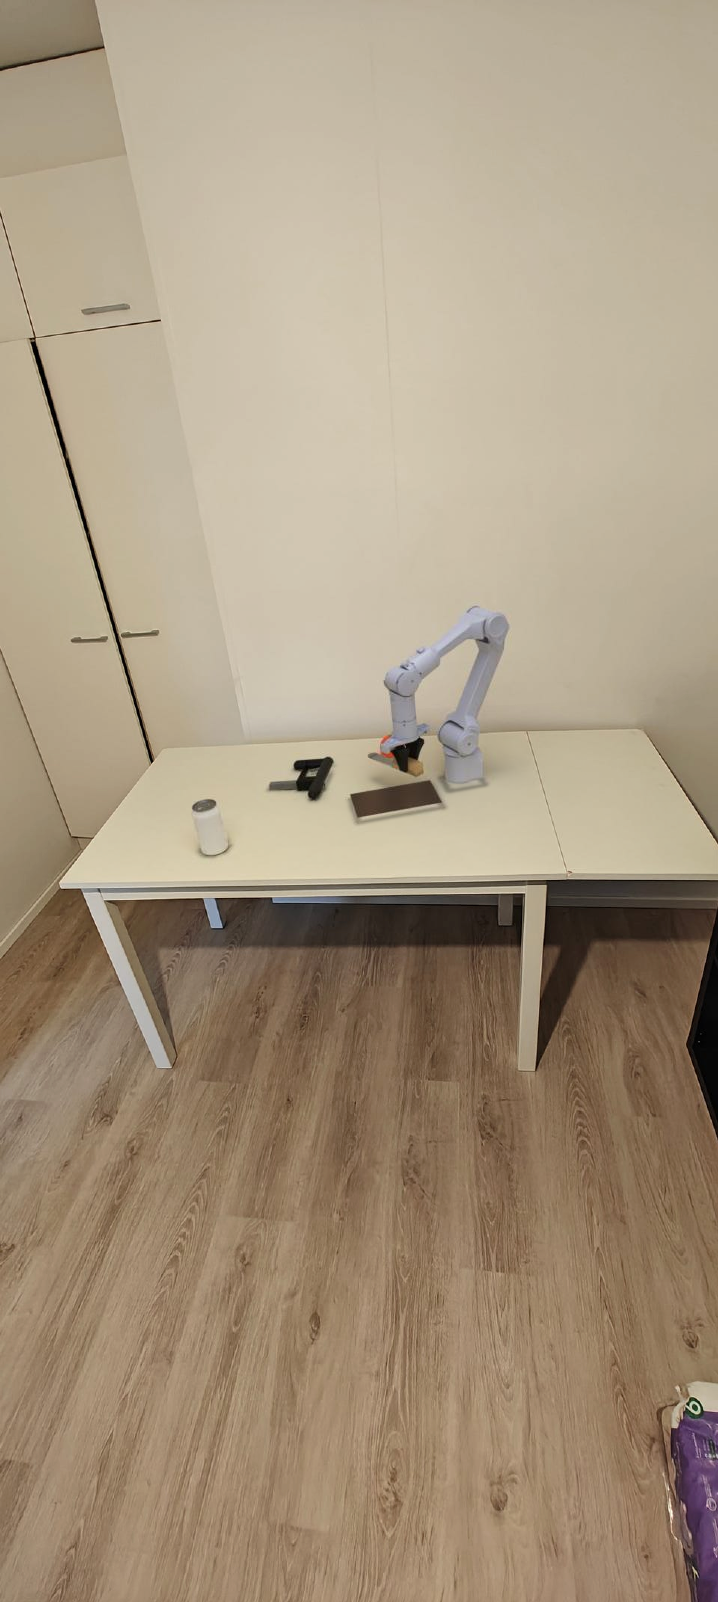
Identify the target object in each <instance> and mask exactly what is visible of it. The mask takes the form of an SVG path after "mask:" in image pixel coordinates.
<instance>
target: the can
mask: <svg viewBox="0 0 718 1602" xmlns="http://www.w3.org/2000/svg"><path fill="white" fill-rule="evenodd" d="M191 809H192V810H191V817H192V821H193V826H194V829H195V833H196V836H197V839H198V844H199V847H200V851H201V853H202V854H204V855H206V856H211V857H212V856H217V855H220V854H222V853H224V852H226V850H228V847H229V841H228V837H227V833H226V828H225V824H224V820H223V817H222V811H221V808H220V806H219V805H218V804H217V801H216V800H215V799H212V798H205V799H201V800H197V801H196V802H195V803H194V804H192V806H191Z"/></svg>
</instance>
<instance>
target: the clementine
mask: <svg viewBox="0 0 718 1602" xmlns="http://www.w3.org/2000/svg"><path fill="white" fill-rule="evenodd" d="M391 736H392V733H389V734H387V735H386V736H384V737H383V738H382V739H381V741H380V744H379V750H380V753H381V755H383V756H385V757H388V758H390V759H393V758H392V757H394V756H393V754H392V753H391V751H390V753H388V754H386V753H383V752H381V744H383V743H384V742H385V741H387V740H388V739H389V738H390V737H391ZM404 746H405V744H404Z"/></svg>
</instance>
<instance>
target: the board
mask: <svg viewBox="0 0 718 1602" xmlns="http://www.w3.org/2000/svg"><path fill="white" fill-rule="evenodd" d="M349 796H350V799H351V802H352V805H353V808H354V811H355V815H356V818H357V819H359V818H365V817H369V816H370V817H371V816H376V815H381V814H387V813H393V812H397V811H404V810H410V809H414V808H421V807H426V806H430V805H437V804H443V801H442V799H441V798H440V795H439V794H438V791H437V790H436V789H435V787H434V784H433V783H432V781H431V779H428V780H423V781H417V782H416V781H415V782H409V783H405V784H399V785H394V786H389V787H388V786H387V787H383V788H377V789H371V790H365V791H359V792H355V793H350V794H349Z"/></svg>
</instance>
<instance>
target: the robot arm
mask: <svg viewBox="0 0 718 1602" xmlns="http://www.w3.org/2000/svg"><path fill="white" fill-rule="evenodd" d="M509 629H510V624H509V621H508V619H507V617H506V615H505V614H504V613H502V612H498V611H494V610H490V609H488V608H483V607H481V606H478V605H472V606H470V607H468V608H467V609H466V611H464V612H462V613H461V614H460V615H459V619H458V621H457V622H455V624H453V625H452V627H450V628H449V629H448V630H447V631H446V632H445V633H444V634H443V635H442V636H440V638H438V640H436V641H435V642H434V643H433V644H432V645H431V646H429V645H424V646H419V647H418V648H417V649H416V652H415V653H413V654H412V655H411V656H410V657H408V658H407V659H406V660H403V661H402V662H401V663H400V665H396V666H392V667H391V668H390V669H388V670H387V672H386V673H385V676H384V679H383V685H384V687H385V689H387V690H388V696H389V701H390V712H391V713H390V715H391V722H392V723H391V724H392V731H391V734H392V736H391V737H390V738H389V739H388V740H387V741H385V742H384V743H383V744H381V743H380V744H381V750H380V753H381V752H383V753H386V754H388V753H390V751H391V753H392V754H393V756H394V757H395V759H396V761H397V764H398V766H399V769H400V770H399V771H400V772H402V773H405V774H407V773H406V772H408V757H410V758H413V759H415V760H418V761H419V757H420V754H421V751H422V749H423V747H424V745H425V738H422V737H421V736H422V735H424V734H429V733H431V725H430V724H428V723H423V722H422V723H421V724H418V722H417V709H416V708H417V707H416V696H415V695H416V694H415V693H417V691H418V689H419V686H420V684H421V683H422V681H423V680H424V679H426V678H427V677H428V676H429V675H430V674H432V672H434V671H435V670H436V669H437V668H439V667H440V665H441V658H443V657H444V656H446V655H447V654H449V653H450V652H451V651H453V650H454V649H455V648H457V647H459V646H460V645H461V644H463V643H464V642H465V641H467V640H474V642H475V644H476V646H477V648H478V653H477V654H476V657H475V660H474V661H473V665H472V667H471V670H470V672H469V676H468V678H467V680H466V683H465V685H464V688H463V690H462V693H461V696H460V698H459V701H458V704H457V706H456V709H455V710H454V711H452V712H450V713H448V714H447V715H446V717H445V720H444V721H443V723H442V724H441V725H440V726H439V728H438V729H437V734H436V735H437V737H436V738H437V740H438V742H439V743H440V744H442V749H443V760H444V763H443V764H444V777H445V780H446V781H447V782H448V783H451V784H455V785H462V784H466V783H469V782H473V781H477V780H483V779H484V757H483V753H482V750H481V748H480V747H479V737H480V732H481V730H482V729H481V726H480V724H479V721H478V716H479V713H480V711H481V709H482V706H483V703H484V701H485V698H486V696H487V693H488V691H489V689H490V686H491V683H492V680H493V678H494V676H495V673H496V671H497V668H498V666H499V663H500V661H501V658H502V656H503V653H504V649H505V640H506V638H507V635H508V633H509ZM404 744H405V746H404Z"/></svg>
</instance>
